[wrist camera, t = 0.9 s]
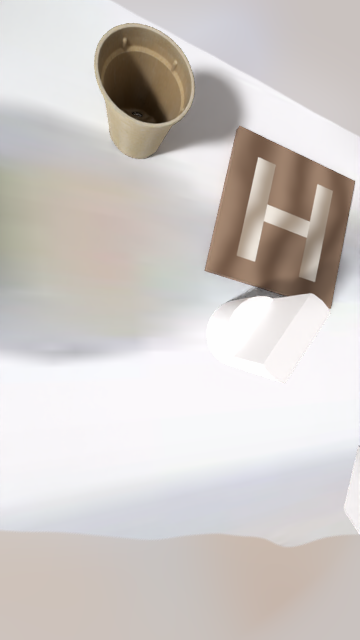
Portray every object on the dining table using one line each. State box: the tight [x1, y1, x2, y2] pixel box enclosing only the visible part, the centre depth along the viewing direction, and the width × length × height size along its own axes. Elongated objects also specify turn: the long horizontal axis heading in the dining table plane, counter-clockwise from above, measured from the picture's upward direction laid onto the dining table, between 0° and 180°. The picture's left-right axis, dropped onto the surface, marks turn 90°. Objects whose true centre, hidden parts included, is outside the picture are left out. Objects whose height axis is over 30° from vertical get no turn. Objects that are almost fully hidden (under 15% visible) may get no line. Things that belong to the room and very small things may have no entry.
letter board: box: [205, 126, 355, 309], centre depth 40 cm, size 20×20×1 cm
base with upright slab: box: [207, 293, 331, 384], centre depth 32 cm, size 9×9×12 cm
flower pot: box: [94, 23, 195, 159], centre depth 30 cm, size 9×9×9 cm
